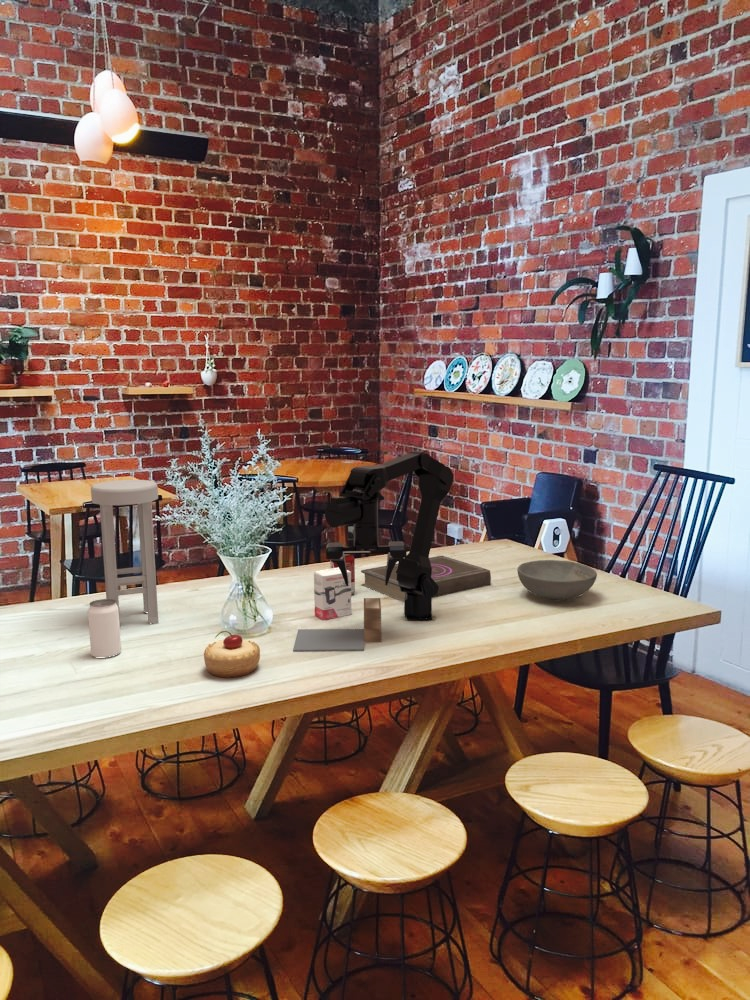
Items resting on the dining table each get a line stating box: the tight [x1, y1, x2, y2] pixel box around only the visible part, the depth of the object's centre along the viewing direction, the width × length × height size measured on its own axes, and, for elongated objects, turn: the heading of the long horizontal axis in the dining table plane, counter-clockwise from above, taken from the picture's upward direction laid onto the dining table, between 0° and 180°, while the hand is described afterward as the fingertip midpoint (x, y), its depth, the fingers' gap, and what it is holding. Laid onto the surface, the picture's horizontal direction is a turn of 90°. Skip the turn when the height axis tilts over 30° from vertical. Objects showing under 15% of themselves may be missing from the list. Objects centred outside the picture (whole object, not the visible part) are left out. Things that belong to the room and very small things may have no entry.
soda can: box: [329, 554, 356, 595], centre depth 223 cm, size 7×7×12 cm
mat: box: [292, 628, 365, 653], centre depth 186 cm, size 16×14×1 cm
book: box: [360, 555, 492, 603], centre depth 232 cm, size 30×22×5 cm
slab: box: [363, 597, 382, 644], centre depth 189 cm, size 4×9×8 cm, turn 1°
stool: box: [90, 479, 159, 624], centre depth 200 cm, size 16×16×35 cm
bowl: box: [516, 559, 598, 601], centre depth 219 cm, size 21×21×8 cm
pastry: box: [203, 630, 261, 678], centre depth 169 cm, size 12×12×9 cm
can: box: [87, 598, 122, 658], centre depth 178 cm, size 6×6×12 cm
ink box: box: [313, 567, 352, 621], centre depth 204 cm, size 8×5×12 cm, turn 123°
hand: (366, 585), depth 189 cm, fingers open, 9 cm apart
